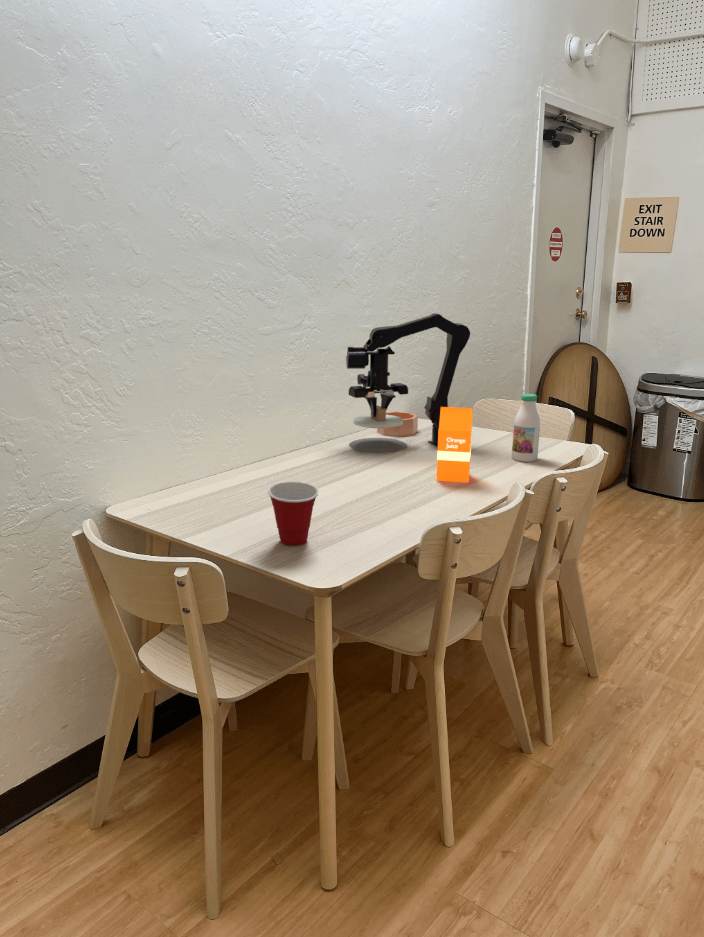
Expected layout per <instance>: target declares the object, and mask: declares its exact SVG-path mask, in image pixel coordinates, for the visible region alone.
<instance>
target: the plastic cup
mask: <svg viewBox="0 0 704 937" xmlns="http://www.w3.org/2000/svg"><path fill="white" fill-rule="evenodd" d="M267 490H268V491H267V493H268V495H269V497H270V501H271V504H272V508H273V512H274V517H275V522H276V528H277V531H278V535H279V539H280V542H281V544H282V545H285V546H289V547H290V546H291V547H294V546H295V547H296V546H302V545H304V544H307V541H308V537H309V531H310V527H311V520H312V514H313V509H314V506H315V502H316V499H317V497H318V496H319V489H318V488H317V486H315V485H312V484H310V483H307V482H301V481H283V482H278V483H274V484H273V485H271V486H269V488H268V489H267Z"/></svg>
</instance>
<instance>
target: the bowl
mask: <svg viewBox="0 0 704 937" xmlns="http://www.w3.org/2000/svg"><path fill="white" fill-rule="evenodd" d="M386 415H393V416H397V417H400V418H402V419H403V424H402V425H401V426H398V427H393V428H376V429H377V430H376V432H377V433H379V434H381V435H383V436H386V437H387V436H388V437H390V436H391V437H398V438H400V437H408V436H409V437H410V436H414V435H415V434H416V433H418V424H419V423H418V421H419V415H417V414H414V413H412V412H406V411H397V410H395V411H386Z"/></svg>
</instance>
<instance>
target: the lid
mask: <svg viewBox="0 0 704 937" xmlns="http://www.w3.org/2000/svg"><path fill="white" fill-rule="evenodd" d="M386 412H387V410H386V409H385V408H383V407H381V405H378V404H377V406H376V417H373V415H372V412H371V411H370V414H369V413H368V414H361V415H357V416H355V417H353V420H352V421H353V424H354V425H355V426H358V427H361V428H368V429H377V428H393V427H398V426H401V425H402V424H403V419H402V418H400V417H397V416H393V415H386Z"/></svg>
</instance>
